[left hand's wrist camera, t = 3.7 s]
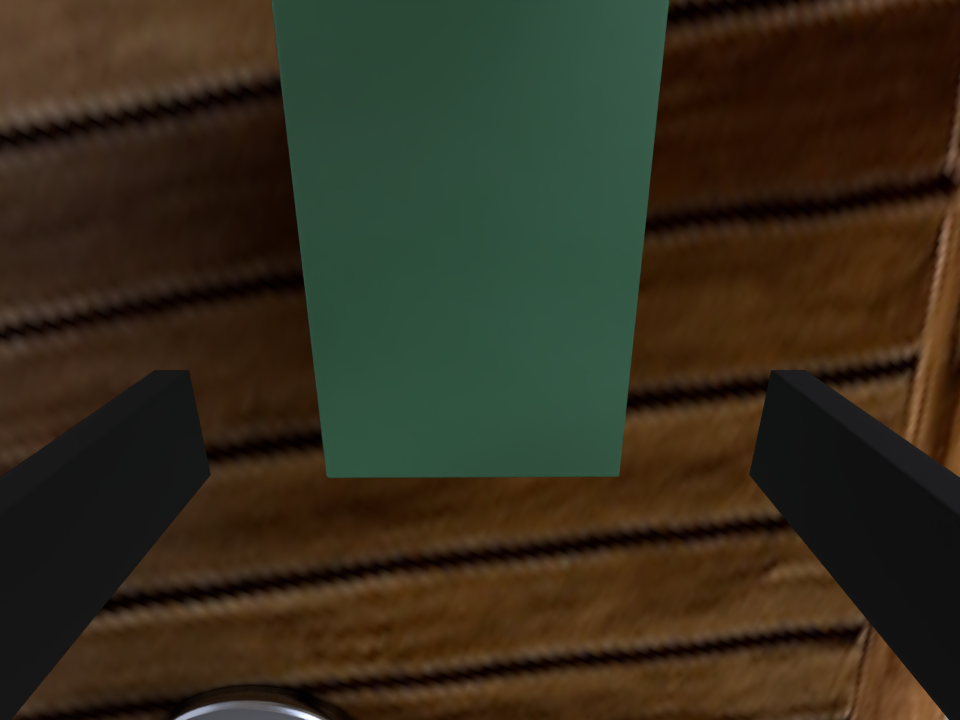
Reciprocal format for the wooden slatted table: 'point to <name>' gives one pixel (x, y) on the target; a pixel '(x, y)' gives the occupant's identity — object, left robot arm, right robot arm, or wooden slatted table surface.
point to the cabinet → (471, 226)
